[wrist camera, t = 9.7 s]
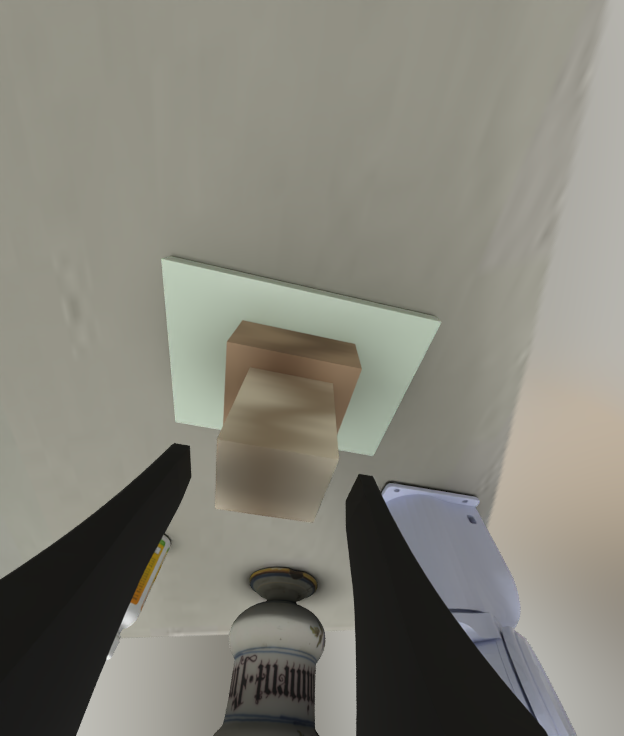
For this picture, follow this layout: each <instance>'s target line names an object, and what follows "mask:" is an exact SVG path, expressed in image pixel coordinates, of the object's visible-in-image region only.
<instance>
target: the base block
mask: <svg viewBox="0 0 624 736" xmlns="http://www.w3.org/2000/svg"><path fill="white" fill-rule="evenodd" d="M250 367H251V368H256V369H262V370H267V371H272V372H277V373H282V374H287V375H292V376H297V377H303V378H308V379H313V380H318V381H323V382H328V383H333V390H334V402H335V415H336V428H337V434H338V431H339V429H340V426H341V424H342V421H343V418H344V416H345V413H346V410H347V408H348V405H349V402H350V400H351V397H352V394H353V392H354V389H355V386H356V384H357V381H358V378H359V376H360V373H361V370H362V367H361V364H360V360H359V356H358V353H357V349H356V345H355V344H353V343H348V342H343V341H339V340H334V339H329V338H325V337H320V336H315V335H310V334H306V333H301V332H296V331H291V330H287V329H282V328H277V327H272V326H268V325H263V324H258V323H253V322H249V321H244V320H242V322H241V323H240V324H239V326H238V327H237V328H236V330H235V331H234V332H233V334H232V335H231V337H230V338H229V339H228V341H227V347H226V369H225V392H224V414H223V425H224V423H225V421H226V418H227V416H228V414H229V412H230V410H231V408H232V405H233V403H234V401H235V399H236V397H237V395H238V392H239V390H240V388H241V386H242V384H243V381H244V379H245V377H246V375H247V373H248V371H249V368H250Z"/></svg>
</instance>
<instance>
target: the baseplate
mask: <svg viewBox="0 0 624 736" xmlns="http://www.w3.org/2000/svg"><path fill="white" fill-rule="evenodd" d="M161 261H162V272H163V284H164V295H165V307H166V318H167V330H168V341H169V353H170V364H171V376H172V387H173V399H174V410H175V422H178V423H184V424H190V425H195V426H201V427H207V428H213V429H219V430H221V429H222V427H223V414H224V392H225V369H226V347H227V341H228V339H229V338H230V337H231V335H232V334H233V332H234V331H235V330H236V328H237V327H238V326H239V324H240V323H241V322H242V320H244V321H249V322H253V323H258V324H263V325H268V326H272V327H277V328H282V329H287V330H291V331H296V332H301V333H306V334H310V335H315V336H320V337H325V338H329V339H334V340H339V341H343V342H348V343H353V344H355V345H356V349H357V353H358V356H359V360H360V364H361V367H362V370H361V373H360V376H359V378H358V381H357V384H356V386H355V389H354V392H353V394H352V397H351V400H350V402H349V405H348V408H347V410H346V413H345V416H344V418H343V421H342V424H341V426H340V429H339V431H338V434H337V441H338V450H341V451H347V452H353V453H358V454H364V455H370V456H373V455H374V453H375V451H376V449H377V447H378V445H379V443H380V441H381V440H382V438H383V436H384V434H385V432H386V430H387V428H388V426H389V424H390V422H391V420H392V418H393V416H394V414H395V412H396V410H397V408H398V406H399V404H400V402H401V400H402V398H403V396H404V394H405V392H406V391H407V389H408V387H409V385H410V383H411V381H412V379H413V377H414V375H415V373H416V371H417V369H418V367H419V365H420V363H421V361H422V359H423V357H424V355H425V353H426V351H427V349H428V347H429V345H430V343H431V341H432V340H433V338H434V336H435V334H436V332H437V330H438V328H439V326H440V324H441V321H440V320H439V319H437V318H436V317H435V316H432V315H428V314H423V313H419V312H414V311H410V310H406V309H401V308H397V307H392V306H388V305H384V304H379V303H375V302H370V301H366V300H362V299H357V298H353V297H348V296H344V295H340V294H335V293H331V292H326V291H322V290H318V289H313V288H309V287H304V286H300V285H296V284H291V283H287V282H282V281H278V280H274V279H269V278H265V277H261V276H256V275H252V274H247V273H243V272H239V271H234V270H230V269H225V268H221V267H217V266H212V265H208V264H203V263H199V262H195V261H190V260H186V259H181V258H177V257H173V256H169V257H166V258H162V259H161Z"/></svg>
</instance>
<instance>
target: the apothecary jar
mask: <svg viewBox="0 0 624 736" xmlns="http://www.w3.org/2000/svg"><path fill="white" fill-rule="evenodd" d="M250 586H251V588H252V589H253V590H254V591H255V592H257V593H258V594H259V595H260V596H261V597H263V598H265V599H267V601H265V602H262V603H258V604H256V605H254V606H251V607H250V608H248V609H246V610H245V611H244V612H242V613H241V614H240V615H239V616H238V617H237V619H236V620H235V621H234V623H233V625H232V627H231V630H230V634H229V646H230V649H231V652H232V655H233V657H234V659H235V661H234V668H233V674H232V681H231V686H230V693H229V699H228V704H227V709H226V714H225V719H224V722H223V725H222V727H221V728H220V729H219V730H218V731H217V732H216V733H215V734H214V735H213V736H319V735H318V733H317V732H316V730H315V713H314V712H315V709H314V708H315V707H314V705H315V671H316V670H315V669H316V663H317V661H318V660H319V659H320V657H321V655H322V653H323V651H324V647H325V632H324V629H323V626H322V624H321V622H320V621H319V620H318V618H317V617H316V616H315V615H314V614H313V613H312V612H310V611H309V610H308V609H306V608H304V607H302V606H300V605H297V604H296V602H297V601H300V600H302V599H304V598H307V597H309V596H311V595H312V594H313V593H314V592H315V591H316V589H317V582H316V580H315V579H314V577H312V576H311V575H309V574H307V573H305V572H301V571H293V570H291V569H290V568H281V567H273V568H266V569H262V570H259V571H256V572H255V573H253V574H252V575H251V577H250Z"/></svg>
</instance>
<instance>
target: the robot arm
mask: <svg viewBox="0 0 624 736" xmlns="http://www.w3.org/2000/svg"><path fill="white" fill-rule="evenodd" d="M190 479H191V461H190V446H188V445H182V444H176V443H174V444H172V445H171V446H170V447H169V448H168V449H167V450H166V451H165V452H164V453H163V454H162V455H161V456H160V457H159V458H158V459H157V460H156V461H154V462H153V463H152V464H151V465H150V466H149V467H148V468H147V469H146V470H145V471H144V472H142V473H141V474H140V475H139V476H138V477H137V478H136V479H134V480H133V481H132V482H131V483H130V484H129V485H128V486H126V487H125V488H124V489H123V490H122V491H121V492H119V493H118V494H117V495H116V496H115V497H113V498H112V499H111V500H110V501H108V502H107V503H106V504H105V505H104V506H102V507H101V508H100V509H99V510H97V511H96V512H95V513H94V514H92V515H91V516H90V517H89V518H87V519H86V520H85V521H83V522H82V523H81V524H79V525H78V526H77V527H75V528H74V529H73V530H71V531H70V532H69V533H67V534H66V535H64V536H63V537H62V538H60V539H59V540H58V541H56V542H55V543H53V544H52V545H51V546H49V547H48V548H46V549H45V550H43V551H42V552H40V553H39V554H38V555H36V556H35V557H33V558H32V559H30V560H29V561H27V562H26V563H24V564H23V565H22V566H20V567H19V568H17V569H16V570H14V571H13V572H11V573H9V574H8V575H6V576H5V577H3V578H2V579H0V736H76V734H77V732H78V729H79V726H80V724H81V721H82V719H83V716H84V713H85V711H86V709H87V706H88V703H89V701H90V698H91V696H92V693H93V691H94V688H95V686H96V683H97V681H98V678H99V676H100V673H101V671H102V668H103V666H104V664H105V661H106V659H107V656H108V654H109V651H110V649H111V646H112V644H113V642H114V639H115V637H116V635H117V632H118V630H119V628H120V625H121V623H122V621H123V618H124V616H125V614H126V611H127V609H128V607H129V604H130V602H131V600H132V598H133V595H134V593H135V591H136V589H137V586H138V584H139V582H140V579H141V577H142V575H143V573H144V571H145V569H146V567H147V565H148V563H149V561H150V559H151V558H152V556H153V554H154V552H155V550H156V548H157V546H158V545H159V543H160V541H161V539H162V537H163V535H164V533H165V531H166V530H167V528H168V526H169V524H170V522H171V520H172V518H173V516H174V515H175V513H176V511H177V509H178V507H179V505H180V503H181V501H182V498H183V496H184V494H185V491H186V489H187V486H188V484H189V481H190ZM479 503H480V501H479V499H478V498H477V497H474V496H468V495H462V494H456V493H449V492H443V491H437V490H431V489H425V488H419V487H413V486H407V485H400V484H394V483H389V484H387V485H386V486H385V488H384V490H383V491H382V493H381V492H380V490H379V488H378V486H377V484H376V482H375V480H374V478H373V476H368V475H362V474H359V475H358V477H357V479H356V481H355V483H354V485H353V487H352V489H351V491H350V493H349V495H348V497H347V499H346V532H347V541H348V550H349V559H350V567H351V576H352V585H353V595H354V610H355V634H356V635H355V637H356V698H357V699H356V701H357V718H356V720H357V721H356V736H577V735H576V732H575V730H574V728H573V726H572V724H571V722H570V720H569V718H568V716H567V714H566V712H565V710H564V708H563V706H562V704H561V702H560V700H559V698H558V696H557V694H556V692H555V690H554V688H553V686H552V684H551V682H550V680H549V678H548V676H547V675H546V673H545V671H544V669H543V667H542V665H541V663H540V661H539V660H538V658H537V656H536V654H535V652H534V651H533V649H532V647H531V646H530V644H529V642H528V641H527V639H526V638H525V637H523V636H522V635H521V634H519V633H518V632H516V631H515V630H514V628H515V627H516V626H517V624H518V621H519V618H520V601H519V596H518V592H517V588H516V584H515V582H514V579H513V577H512V575H511V573H510V571H509V569H508V567H507V565H506V563H505V561H504V559H503V557H502V556H501V554H500V552H499V550H498V548H497V546H496V544H495V542H494V541H493V539H492V537H491V535H490V533H489V531H488V529H487V528H486V526H485V524H484V522H483V520H482V518H481V516H480V514H479V513H478V511H477V509H476V506H477V505H478V504H479Z"/></svg>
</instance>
